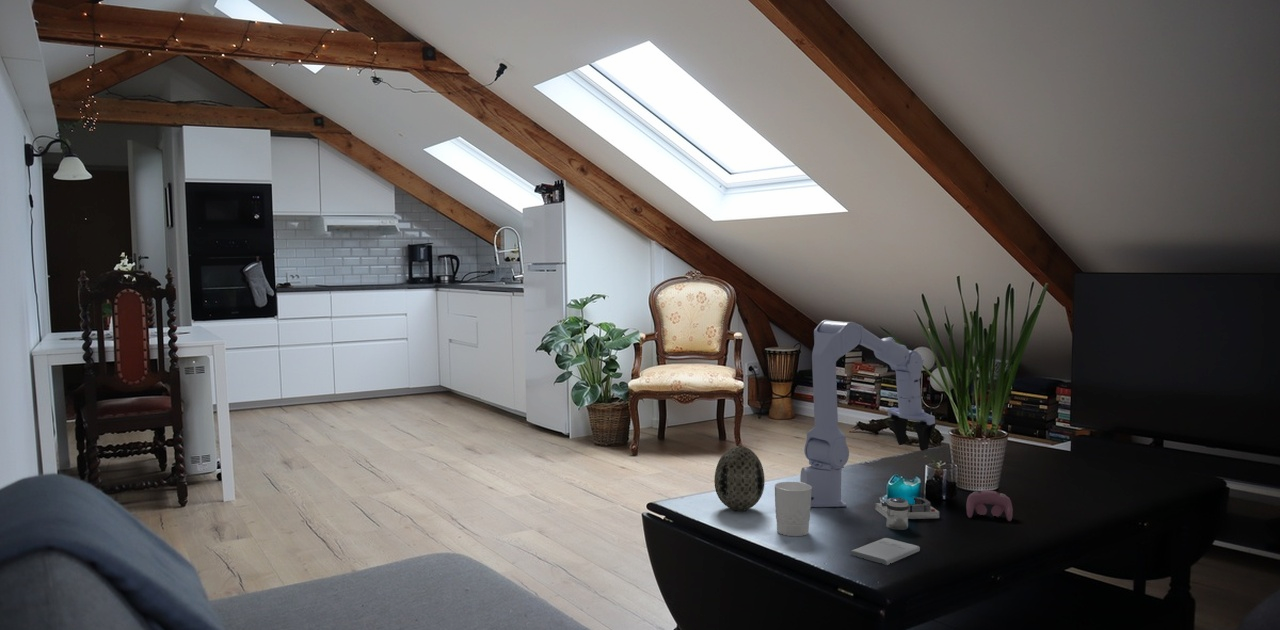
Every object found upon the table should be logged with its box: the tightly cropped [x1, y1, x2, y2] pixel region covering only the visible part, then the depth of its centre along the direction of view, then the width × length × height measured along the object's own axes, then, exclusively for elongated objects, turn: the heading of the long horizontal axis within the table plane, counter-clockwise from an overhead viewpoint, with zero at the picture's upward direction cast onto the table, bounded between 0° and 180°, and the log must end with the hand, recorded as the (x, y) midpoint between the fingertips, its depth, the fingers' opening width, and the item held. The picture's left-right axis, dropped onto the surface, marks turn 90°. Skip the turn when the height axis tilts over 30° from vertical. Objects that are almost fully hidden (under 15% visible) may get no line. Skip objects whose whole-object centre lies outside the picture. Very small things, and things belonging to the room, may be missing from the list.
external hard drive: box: [850, 537, 921, 566], centre depth 178 cm, size 2×8×12 cm
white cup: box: [774, 481, 812, 537], centre depth 192 cm, size 8×8×10 cm
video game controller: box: [965, 490, 1014, 522], centre depth 204 cm, size 10×5×7 cm, turn 71°
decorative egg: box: [714, 445, 766, 512], centre depth 209 cm, size 12×12×15 cm
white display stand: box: [874, 496, 940, 520], centre depth 206 cm, size 12×8×3 cm, turn 95°
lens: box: [886, 497, 909, 531], centre depth 196 cm, size 5×5×6 cm
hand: (913, 446), depth 231 cm, fingers open, 7 cm apart
